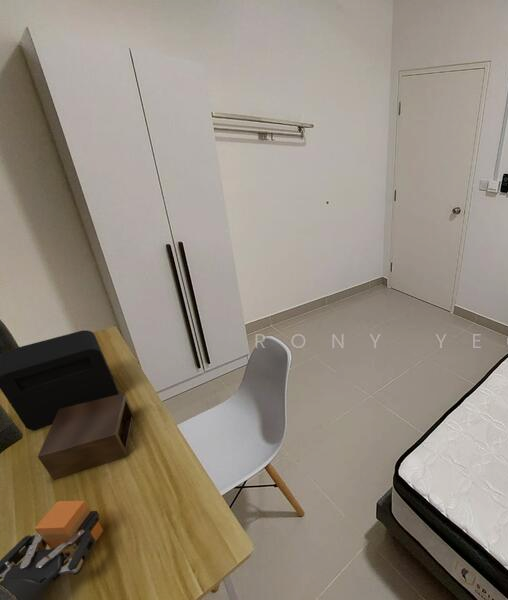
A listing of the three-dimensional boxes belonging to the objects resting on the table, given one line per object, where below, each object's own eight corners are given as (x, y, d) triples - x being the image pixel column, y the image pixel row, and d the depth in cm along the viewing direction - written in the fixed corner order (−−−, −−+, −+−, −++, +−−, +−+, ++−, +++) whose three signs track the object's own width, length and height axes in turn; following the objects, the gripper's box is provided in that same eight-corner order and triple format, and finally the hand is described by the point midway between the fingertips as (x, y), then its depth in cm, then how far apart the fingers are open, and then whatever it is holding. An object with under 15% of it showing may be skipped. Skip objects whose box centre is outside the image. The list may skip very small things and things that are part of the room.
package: (86, 558, 66) (63, 527, 61) (58, 559, 65) (34, 528, 60) (104, 530, 70) (84, 500, 65) (78, 531, 70) (57, 501, 65)
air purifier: (113, 374, 111) (91, 325, 102) (121, 397, 103) (99, 346, 94) (28, 404, 98) (-6, 350, 89) (29, 433, 90) (-8, 377, 80)
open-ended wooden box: (54, 481, 79) (37, 456, 75) (72, 432, 91) (58, 408, 87) (126, 458, 85) (115, 434, 81) (134, 415, 97) (124, 392, 93)
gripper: (-41, 636, 53) (49, 525, 68) (55, 629, 55) (123, 522, 69) (-69, 616, 50) (33, 503, 65) (35, 610, 51) (111, 501, 66)
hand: (79, 513), depth 67 cm, fingers open, 5 cm apart
